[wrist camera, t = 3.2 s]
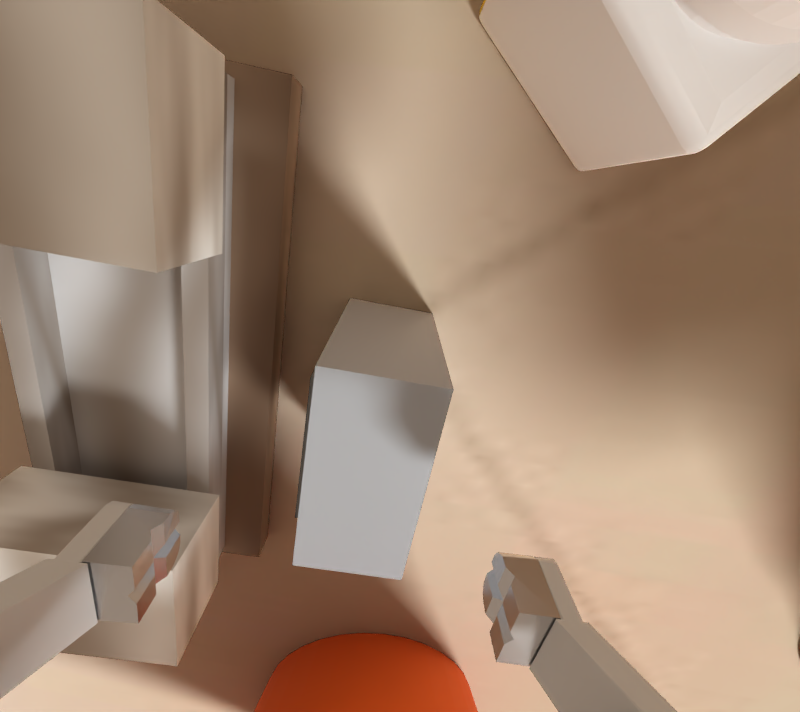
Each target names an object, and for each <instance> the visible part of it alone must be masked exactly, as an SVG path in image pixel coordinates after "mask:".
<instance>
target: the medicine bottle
mask: <svg viewBox="0 0 800 712" xmlns="http://www.w3.org/2000/svg"><path fill="white" fill-rule="evenodd" d="M479 19H480V22H481V24H482V26H483V27H484V29H485V30H486V32H487V33H488V35H489V36H490V38H491V39H492V41H493V42H494V44H495V46H496V47H497V49H498V50H499V52H500V53H501V55H502V56H503V58H504V59H505V61H506V62H507V64H508V65H509V67H510V69H511V70H512V72H513V73H514V75H515V76H516V78H517V79H518V81H519V82H520V84H521V85H522V87H523V88H524V90H525V91H526V93H527V95H528V96H529V98H530V99H531V101H532V102H533V104H534V105H535V107H536V108H537V110H538V111H539V113H540V114H541V116H542V118H543V119H544V121H545V122H546V124H547V125H548V127H549V128H550V130H551V131H552V133H553V134H554V136H555V137H556V139H557V140H558V142H559V144H560V145H561V147H562V148H563V150H564V151H565V153H566V154H567V156H568V157H569V159H570V160H571V162H572V163H573V165H574V167H575V168H576V169H578V170H579V171H588V170H595V169H601V168H607V167H614V166H620V165H626V164H632V163H639V162H645V161H651V160H658V159H664V158H670V157H677V156H683V155H689V154H695V153H697V152H699V151H701V150H703V149H705V148H707V147H708V146H709V145H711V144H712V143H713V142H714V141H716V140H717V139H718V138H720V137H721V136H722V135H723V134H725V133H726V132H727V131H728V130H730V129H731V128H732V127H733V126H735V125H736V124H737V123H738V122H740V121H741V120H742V119H743V118H745V117H746V116H747V115H748V114H750V113H751V112H752V111H753V110H755V109H756V108H757V107H758V106H760V105H761V104H762V103H763V102H765V101H766V100H767V99H768V98H770V97H771V96H772V95H773V94H775V93H776V92H777V91H778V90H780V89H781V88H782V87H783V86H785V85H786V84H787V83H788V82H790V81H791V80H792V79H793V78H795V77H796V76H797V75H798V74H800V0H484V1H483V3H482V6H481V8H480V12H479Z"/></svg>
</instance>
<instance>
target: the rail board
mask: <svg viewBox="0 0 800 712" xmlns="http://www.w3.org/2000/svg"><path fill="white" fill-rule="evenodd" d="M301 97H302V86H301V84H300V83H299V82H298V81H297V80H296V79H295V78H294V76H293V75H291V74H286V73H282V72H277V71H273V70H269V69H264V68H260V67H255V66H251V65H246V64H242V63H237V62H233V61H228V60H225V55H224V54H222V53H221V52H220V51H219V50H218V49H216V48H215V47H214V46H213V45H211V44H210V43H209V42H208V41H207V40H205V39H204V38H203V37H202V36H200V35H199V34H198V33H197V32H196V31H194V30H193V29H192V28H191V27H189V26H188V25H187V24H186V23H185V22H183V21H182V20H181V19H180V18H178V17H177V16H176V15H175V14H174V13H172V12H171V11H170V10H169V9H167V8H166V7H165V6H164V5H163V4H161V3H160V2H159V1H158V0H0V320H1V325H2V330H3V334H4V339H5V343H6V348H7V353H8V357H9V362H10V366H11V371H12V376H13V380H14V385H15V389H16V394H17V399H18V403H19V408H20V412H21V417H22V422H23V426H24V431H25V435H26V440H27V445H28V449H29V454H30V458H31V463H32V467H26V466H20V467H19V468H17V469H16V470H14V471H13V472H11V473H10V474H8V475H7V476H6V477H4V478H3V479H1V480H0V582H2V581H4V580H5V579H7V578H9V577H11V576H13V575H15V574H17V573H19V572H21V571H23V570H25V569H27V568H29V567H31V566H33V565H35V564H37V563H39V562H41V561H43V560H45V559H55V557H56V556H57V555H58V554H59V553H60V552H61V551H62V550H63V549H64V548H65V547H66V546H67V545H68V544H69V543H70V542H71V540H72V539H73V538H74V537H75V536H76V535H77V534H78V533H79V532H80V531H81V530H82V529H83V528H84V527H85V526H86V525H87V523H88V522H89V521H90V520H91V519H92V518H93V517H94V516H95V515H96V514H97V513H98V512H99V511H100V510H101V509H102V508H103V507H104V506H105V505H106V504H108V503H110V502H111V501H119V502H125V503H132V504H140V505H146V506H152V507H158V508H165V509H171V510H176V511H179V519H180V522H179V523H178V525H177V526H176V528H175V529H176V530H177V532H178V533H179V534H180V548H179V552H178V555H177V558H176V560H175V563H174V565H173V567H172V569H171V570H170V572H169V574H168V576H167V577H165V578H164V579H162V580H161V581H159V582H158V583H156V596H155V597H154V599H153V601H152V602H151V604H150V606H149V607H148V609H147V611H146V612H145V614H144V616H143V617H142V619H141V620H140V622H139V623H126V622H112V621H99V620H98V623H97V624H96V625H95V626H93V627H92V628H91V629H89V630H88V631H87V632H86V633H84V634H83V635H82V636H80V637H79V638H78V639H77V640H75V641H74V642H73V643H71V644H70V645H69V646H68V647H66V648H65V649H64V650H62V651H61V652H60V653H68V654H76V655H85V656H94V657H102V658H111V659H119V660H128V661H136V662H145V663H153V664H162V665H171V666H178V664H179V662H180V660H181V658H182V656H183V654H184V652H185V650H186V648H187V645H188V643H189V641H190V639H191V637H192V635H193V633H194V631H195V629H196V627H197V625H198V623H199V620H200V618H201V616H202V614H203V612H204V610H205V608H206V606H207V604H208V602H209V600H210V598H211V596H212V593H213V591H214V589H215V587H216V585H217V583H218V560H219V557H220V555H221V553H222V552H227V553H234V554H241V555H248V556H256V557H259V556H260V554H261V551H262V549H263V546H264V544H265V541H266V539H267V535H268V523H269V510H270V497H271V484H272V471H273V458H274V445H275V432H276V419H277V407H278V394H279V381H280V368H281V355H282V342H283V329H284V316H285V304H286V291H287V278H288V265H289V252H290V239H291V226H292V213H293V200H294V188H295V175H296V162H297V149H298V136H299V123H300V110H301Z"/></svg>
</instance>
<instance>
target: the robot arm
mask: <svg viewBox="0 0 800 712" xmlns="http://www.w3.org/2000/svg"><path fill="white" fill-rule="evenodd" d="M179 522H180V519H179V511H176V510H171V509H165V508H158V507H152V506H146V505H140V504H132V503H125V502H119V501H111V502H110V503H108V504H106V505H105V506H104V507H103V508H102V509H101V510H100V511H99V512H98V513H97V514H96V515H95V516H94V517H93V518H92V519H91V520H90V521H89V522H88V523H87V525H86V526H85V527H84V528H83V529H82V530H81V531H80V532H79V533H78V534H77V535H76V536H75V537H74V538H73V539H72V540H71V542H70V543H69V544H68V545H67V546H66V547H65V548H64V549H63V550H62V551H61V552H60V553H59V554H58V555H57V556H56V557H55V559H45V560H43V561H41V562H39V563H37V564H35V565H33V566H31V567H29V568H27V569H25V570H23V571H21V572H19V573H17V574H15V575H13V576H11V577H9V578H7V579H5V580H4V581H2V582H0V699H1V698H2V697H3V696H5V695H6V694H7V693H8V692H10V691H11V690H12V689H14V688H15V687H16V686H17V685H19V684H20V683H21V682H23V681H24V680H25V679H26V678H28V677H29V676H30V675H32V674H33V673H34V672H35V671H37V670H38V669H39V668H41V667H42V666H43V665H44V664H46V663H47V662H48V661H50V660H51V659H52V658H53V657H55V656H56V655H57V654H59V653H60V652H61V651H62V650H64V649H65V648H66V647H68V646H69V645H70V644H71V643H73V642H74V641H75V640H77V639H78V638H79V637H80V636H82V635H83V634H84V633H86V632H87V631H88V630H89V629H91V628H92V627H93V626H95V625H96V624H97V623H98V620H99V621H112V622H126V623H139V622H140V620H141V619H142V617H143V616H144V614H145V612H146V611H147V609H148V607H149V606H150V604H151V602H152V601H153V599H154V597H155V596H156V583H158V582H159V581H161V580H162V579H164V578H165V577H167V576H168V574H169V572H170V570H171V569H172V567H173V565H174V563H175V560H176V558H177V555H178V552H179V548H180V534H179V533H178V532H177V530H176V529H175V528H176V526H177V525H178V523H179ZM492 565H493V570H492V571H490V572H489V573H487V575H486V578H485V581H484V586H483V602H484V608H485V613H486V615H487V616H488V617H489V618H490V620H491V621H492V622H493V626H492V628H491V630H490V636H491V641H492V645H493V650H494V654H495V659H496V662H502V663H509V664H516V665H523V666H530V668H529V669H530V670H531V672H532V673H533V674H534V676H535V677H536V679H537V680H538V682H539V683H540V685H541V686H542V688H543V689H544V691H545V692H546V694H547V695H548V697H549V698H550V700H551V701H552V703H553V704H554V706H555V707H556V709H557V710H558V712H677V711H676V710H675V709H674V708H673V707H672V706H671V705H670V704H669V703H668V702H667V701H666V700H665V699H664V698H663V697H662V696H661V695H660V694H659V693H658V692H657V691H656V690H655V689H654V688H653V687H652V686H651V685H650V684H649V683H648V682H647V681H646V680H645V679H644V678H643V677H642V676H641V675H640V674H639V673H638V672H637V671H636V670H635V669H634V668H633V667H632V666H631V665H630V664H629V663H628V662H627V661H626V660H625V659H624V658H623V657H622V656H621V655H620V654H619V653H618V652H617V651H616V650H615V649H614V648H613V647H612V646H611V645H610V644H609V643H608V642H607V641H606V640H605V639H604V638H603V637H602V636H601V635H600V634H599V633H598V632H597V631H596V630H595V629H594V628H593V627H592V626H591V625H590V624H589V623H587V622H583V621H582V619H581V616H580V614H579V612H578V610H577V607H576V605H575V603H574V601H573V598H572V596H571V594H570V592H569V589H568V587H567V585H566V583H565V580H564V578H563V576H562V574H561V571H560V569H559V567H558V565H557V563H556V562H555V561H554V560H553V559H548V558H540V557H533V556H526V555H518V554H509V553H501V552H498V553H496V554H495V555H494V558H493V560H492Z"/></svg>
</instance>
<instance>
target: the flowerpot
mask: <svg viewBox="0 0 800 712" xmlns="http://www.w3.org/2000/svg"><path fill="white" fill-rule="evenodd" d="M254 712H478V711H477V708H476V705H475V702H474V699H473V696H472V693H471V690H470V687H469V684H468V682H467V680H466V678H465V676H464V673H463V672H462V671H461V670H460V669H459V667H458V666H457V665H456V664H455V663H454V662H453V661H452V660H451V659H449V658H448V657H447V656H445V655H444V654H443V653H441V652H440V651H438V650H436V649H434V648H432V647H430V646H428V645H426V644H423V643H420V642H417V641H414V640H411V639H408V638H404V637H398V636H393V635H387V634H373V633H356V634H344V635H337V636H333V637H328V638H324V639H320V640H317V641H315V642H312V643H309V644H307V645H304V646H302V647H300V648H299V649H297V650H296V651H294V652H292V653H291V654H289V655H288V656H287V657H286V658H285V659H284V660H283V661H281V662H280V663H279V664H278V665H277V667H276V669H275V670H274V672H273V674H272V675H271V677H270V679H269V681H268V683H267V686H266V688H265V690H264V692H263V694H262V696H261V698H260V700H259V702H258V704H257V706H256V708H255V710H254Z"/></svg>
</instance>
